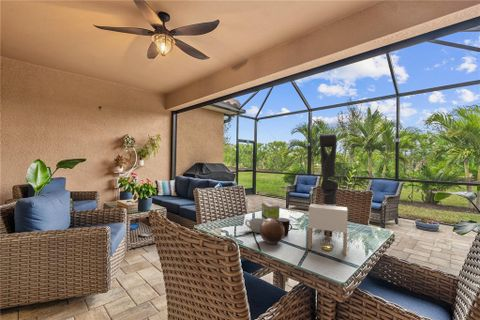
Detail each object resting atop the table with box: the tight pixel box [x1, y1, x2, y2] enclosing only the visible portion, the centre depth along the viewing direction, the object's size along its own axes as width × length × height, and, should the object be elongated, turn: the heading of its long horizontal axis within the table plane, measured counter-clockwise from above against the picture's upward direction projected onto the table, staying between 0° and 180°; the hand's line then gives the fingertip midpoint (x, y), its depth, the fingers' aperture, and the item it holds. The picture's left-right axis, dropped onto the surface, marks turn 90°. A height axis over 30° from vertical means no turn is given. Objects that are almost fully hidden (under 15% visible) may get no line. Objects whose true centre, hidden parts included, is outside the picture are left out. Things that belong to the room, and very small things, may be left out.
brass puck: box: [320, 244, 334, 252], centre depth 131 cm, size 6×6×2 cm
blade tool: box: [320, 230, 334, 248], centre depth 144 cm, size 22×7×6 cm, turn 157°
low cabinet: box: [307, 203, 348, 256], centre depth 131 cm, size 10×20×24 cm, turn 67°
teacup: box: [244, 217, 264, 234], centre depth 160 cm, size 14×11×8 cm
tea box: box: [261, 201, 280, 220], centre depth 184 cm, size 15×10×15 cm
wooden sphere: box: [259, 218, 285, 245], centre depth 138 cm, size 15×15×15 cm
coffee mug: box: [278, 217, 293, 237], centre depth 153 cm, size 12×9×10 cm
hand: (328, 236), depth 150 cm, fingers closed on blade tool, 2 cm apart
